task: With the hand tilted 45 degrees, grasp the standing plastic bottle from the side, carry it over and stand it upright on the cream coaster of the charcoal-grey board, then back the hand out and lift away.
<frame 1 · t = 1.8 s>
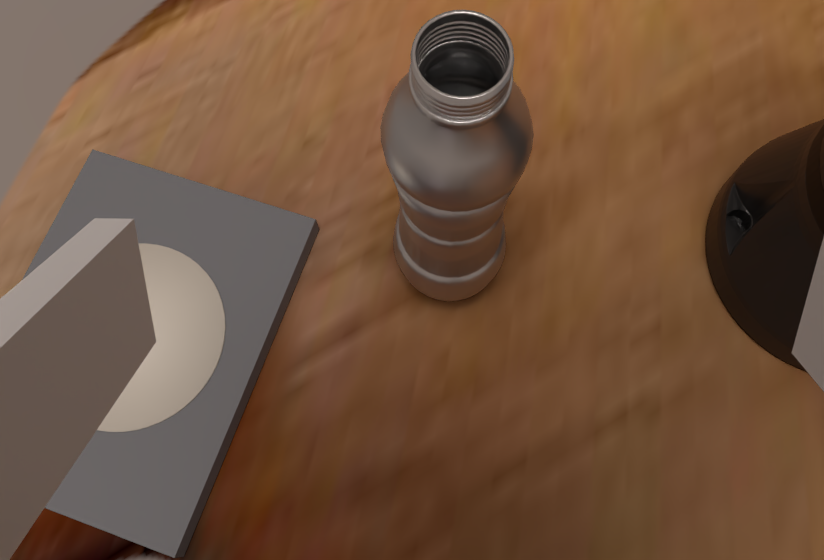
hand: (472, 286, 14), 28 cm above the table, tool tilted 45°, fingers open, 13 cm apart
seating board: (139, 340, 42), on the table
plastic bottle: (448, 258, 44), on the table
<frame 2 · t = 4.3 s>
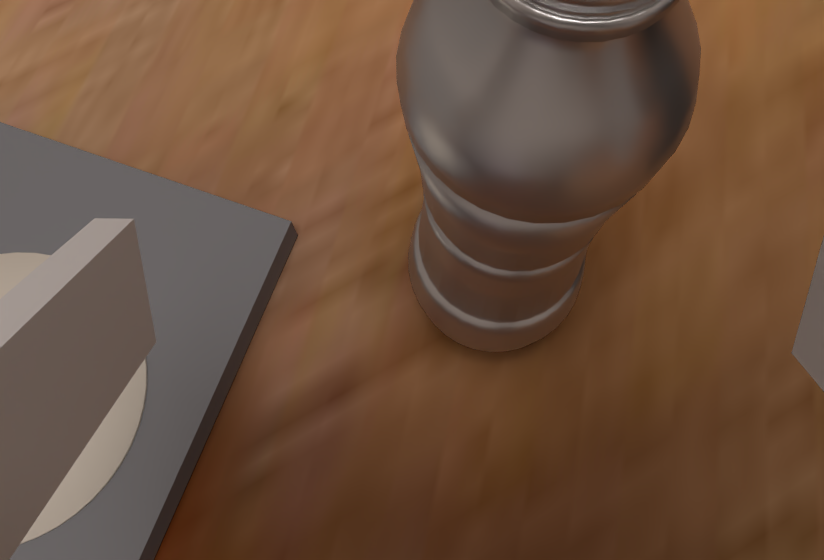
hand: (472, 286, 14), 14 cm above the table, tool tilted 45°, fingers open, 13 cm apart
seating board: (21, 399, 28), on the table
plastic bottle: (488, 283, 29), on the table
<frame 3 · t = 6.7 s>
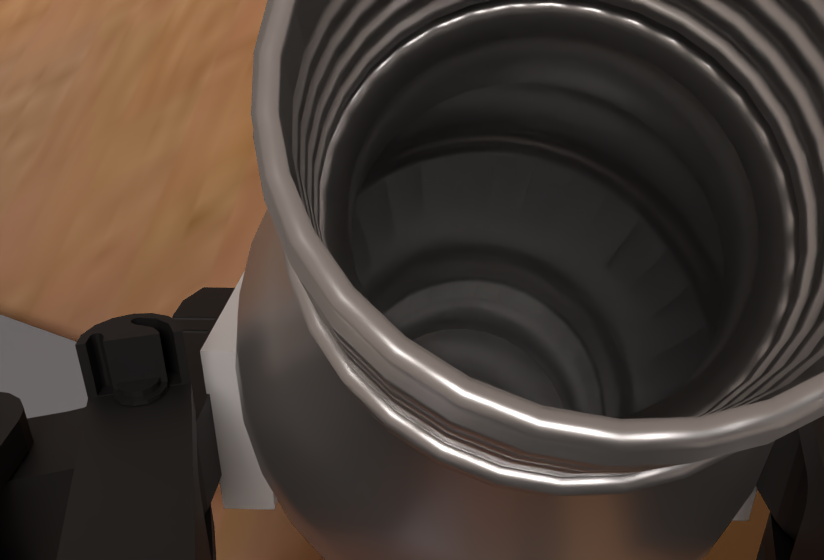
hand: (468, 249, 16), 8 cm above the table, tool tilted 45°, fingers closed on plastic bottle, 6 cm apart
plastic bottle: (454, 455, 23), on the table, touching gripper
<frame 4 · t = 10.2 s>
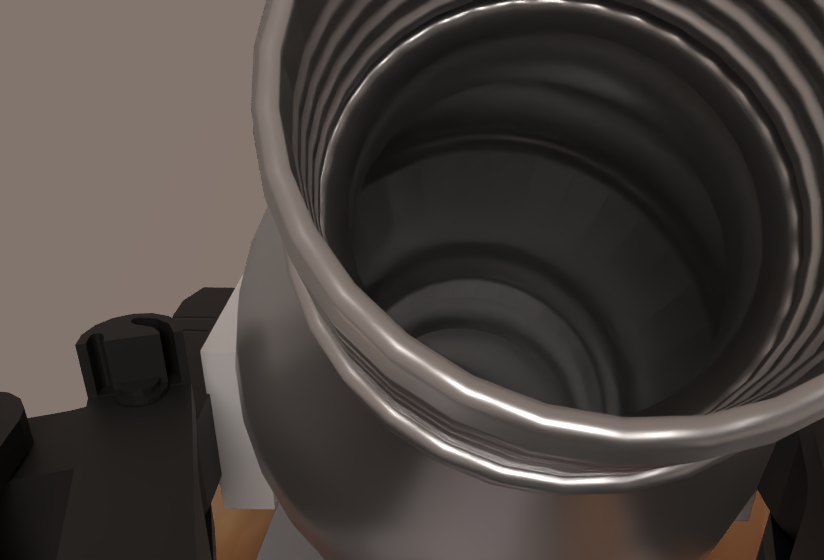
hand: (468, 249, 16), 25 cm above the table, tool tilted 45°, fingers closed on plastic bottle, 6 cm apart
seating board: (442, 482, 38), on the table
plastic bottle: (454, 455, 23), point 16 cm above the table, touching gripper
when the fingers open (11 cm above the table, at t = 13.7 s): plastic bottle drops 1 cm, resting on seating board.
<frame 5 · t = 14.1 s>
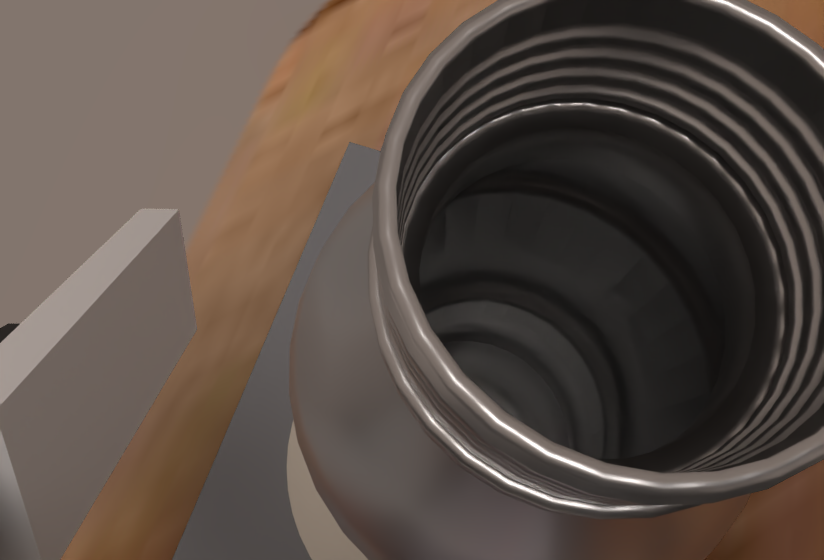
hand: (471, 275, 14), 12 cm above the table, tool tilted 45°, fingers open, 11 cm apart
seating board: (451, 462, 25), on the table
plastic bottle: (456, 458, 24), point 2 cm above the table, touching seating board
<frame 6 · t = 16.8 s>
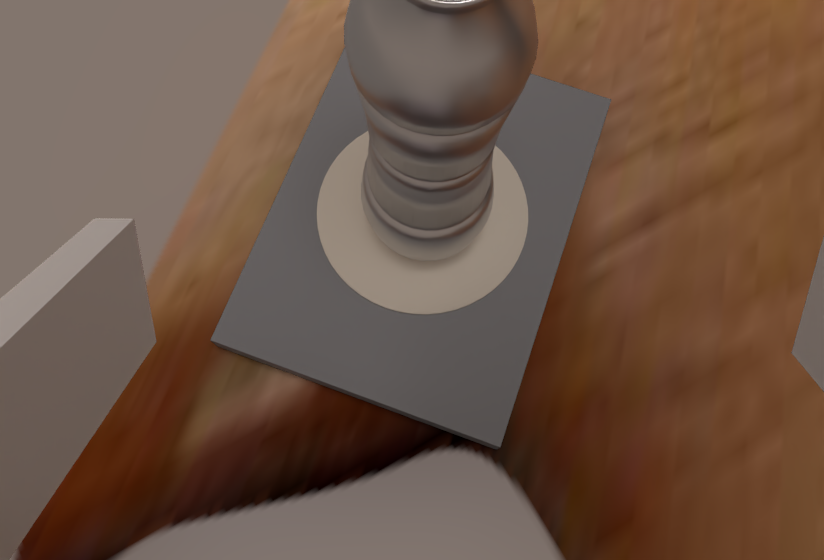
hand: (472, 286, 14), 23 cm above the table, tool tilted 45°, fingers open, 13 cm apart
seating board: (421, 223, 39), on the table
plastic bottle: (425, 212, 38), point 2 cm above the table, touching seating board
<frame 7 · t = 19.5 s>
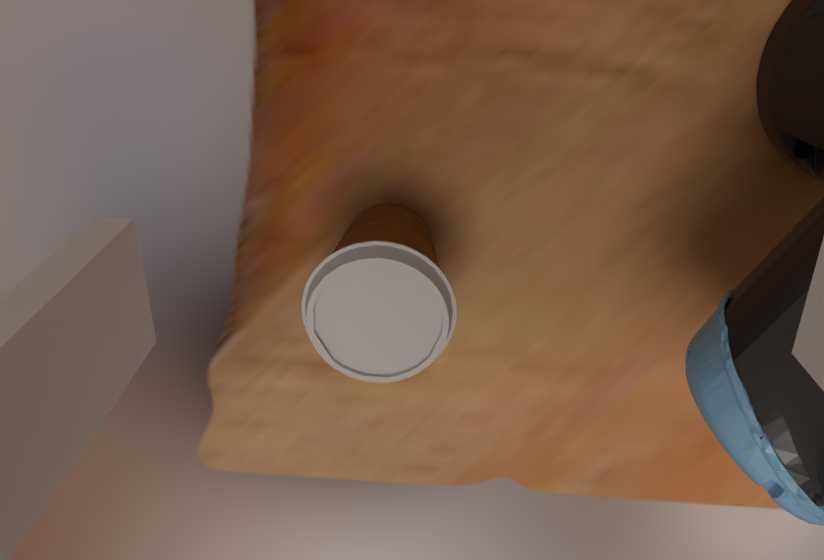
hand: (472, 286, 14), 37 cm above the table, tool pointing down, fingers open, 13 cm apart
disposable coffee cup: (389, 242, 54), on the table
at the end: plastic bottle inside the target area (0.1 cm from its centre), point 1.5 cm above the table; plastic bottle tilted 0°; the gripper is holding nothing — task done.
